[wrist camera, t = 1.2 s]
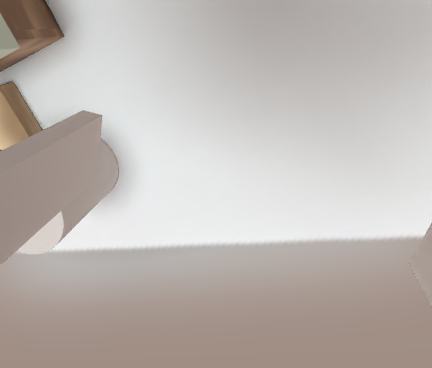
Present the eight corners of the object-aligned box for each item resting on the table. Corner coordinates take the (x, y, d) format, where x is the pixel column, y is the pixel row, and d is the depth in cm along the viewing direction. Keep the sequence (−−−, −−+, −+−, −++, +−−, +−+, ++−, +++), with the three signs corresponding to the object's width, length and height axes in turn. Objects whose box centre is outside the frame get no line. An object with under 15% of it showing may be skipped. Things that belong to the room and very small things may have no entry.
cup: (78, 116, 41) (5, 150, 30) (132, 169, 42) (81, 220, 31) (38, 161, 44) (-41, 208, 33) (90, 209, 45) (30, 269, 34)
